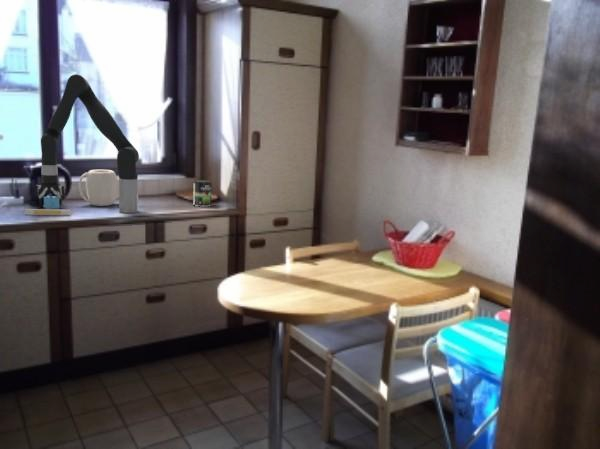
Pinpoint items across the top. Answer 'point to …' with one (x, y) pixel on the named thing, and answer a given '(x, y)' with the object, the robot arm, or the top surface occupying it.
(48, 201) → the teapot
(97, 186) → the white mug
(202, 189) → the coffee can
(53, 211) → the price rail
